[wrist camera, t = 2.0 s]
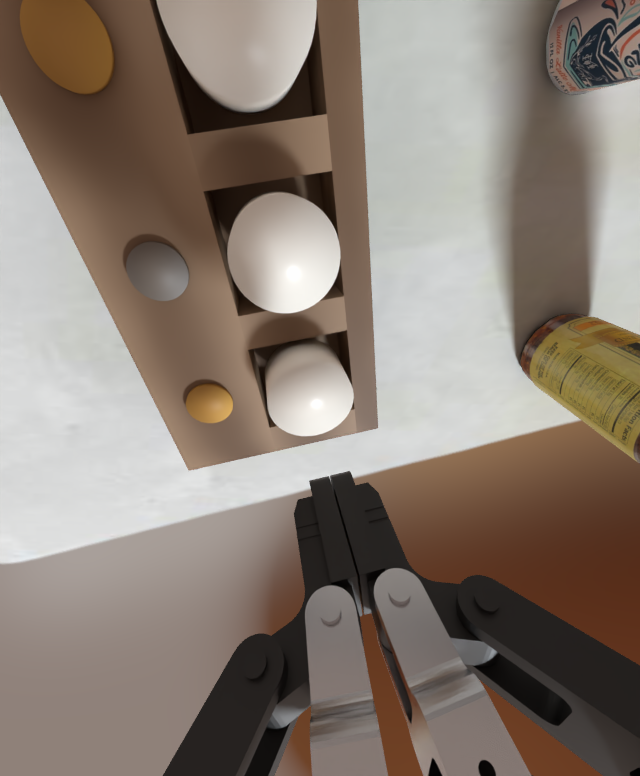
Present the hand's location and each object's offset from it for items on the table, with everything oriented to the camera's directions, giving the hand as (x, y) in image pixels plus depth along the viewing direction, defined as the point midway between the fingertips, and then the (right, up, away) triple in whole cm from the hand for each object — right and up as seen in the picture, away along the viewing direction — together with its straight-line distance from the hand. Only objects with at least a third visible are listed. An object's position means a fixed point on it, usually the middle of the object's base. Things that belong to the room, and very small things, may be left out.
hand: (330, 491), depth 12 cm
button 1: (-3, +16, 0) cm, 16 cm away
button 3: (-1, +5, +7) cm, 9 cm away
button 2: (-2, +10, +3) cm, 11 cm away
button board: (-5, +12, +7) cm, 15 cm away
